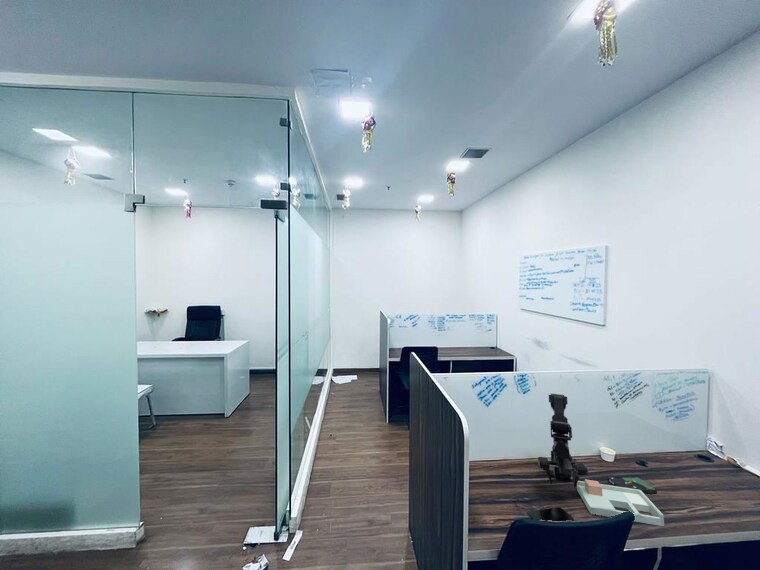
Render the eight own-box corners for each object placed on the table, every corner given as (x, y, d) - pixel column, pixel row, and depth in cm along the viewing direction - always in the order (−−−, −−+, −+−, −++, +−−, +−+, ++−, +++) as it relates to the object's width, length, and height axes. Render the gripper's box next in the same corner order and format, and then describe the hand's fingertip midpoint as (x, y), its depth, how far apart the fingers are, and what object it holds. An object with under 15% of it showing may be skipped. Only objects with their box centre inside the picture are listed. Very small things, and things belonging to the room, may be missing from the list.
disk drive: (624, 496, 135) (658, 495, 135) (623, 489, 135) (657, 489, 135) (607, 482, 145) (638, 482, 145) (606, 476, 146) (638, 476, 145)
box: (590, 513, 122) (590, 503, 123) (577, 489, 139) (576, 480, 139) (664, 526, 115) (663, 515, 116) (641, 499, 131) (640, 489, 132)
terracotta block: (588, 494, 131) (588, 485, 132) (584, 487, 136) (584, 479, 136) (602, 496, 130) (602, 487, 130) (598, 489, 135) (597, 481, 135)
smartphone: (560, 508, 126) (525, 513, 123) (560, 506, 126) (525, 510, 123) (575, 521, 118) (539, 526, 115) (575, 519, 118) (539, 524, 115)
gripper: (541, 454, 132) (543, 492, 131) (591, 460, 127) (593, 500, 126) (536, 443, 143) (537, 478, 142) (582, 448, 137) (584, 485, 136)
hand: (562, 485), depth 136 cm, fingers open, 9 cm apart
